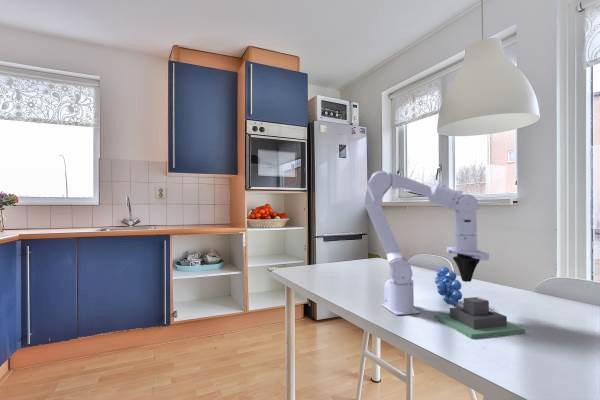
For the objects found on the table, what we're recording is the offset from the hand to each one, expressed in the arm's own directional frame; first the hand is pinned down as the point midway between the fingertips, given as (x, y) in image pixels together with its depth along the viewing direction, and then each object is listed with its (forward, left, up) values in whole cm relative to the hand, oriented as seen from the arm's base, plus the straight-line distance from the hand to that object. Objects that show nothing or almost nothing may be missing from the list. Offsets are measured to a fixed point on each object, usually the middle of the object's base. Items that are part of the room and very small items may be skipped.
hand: (466, 281), depth 89 cm
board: (+6, -2, -10) cm, 12 cm away
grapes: (-12, +2, -11) cm, 16 cm away
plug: (+6, -2, -10) cm, 12 cm away
